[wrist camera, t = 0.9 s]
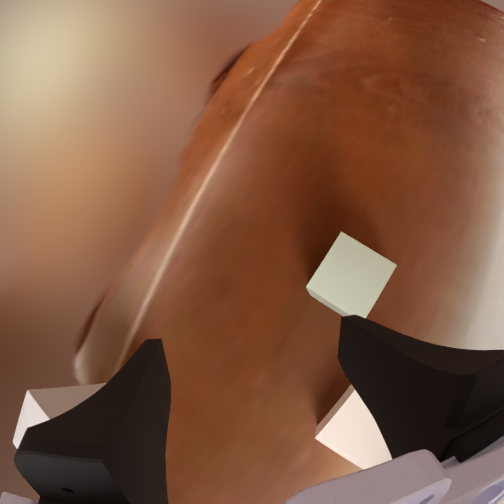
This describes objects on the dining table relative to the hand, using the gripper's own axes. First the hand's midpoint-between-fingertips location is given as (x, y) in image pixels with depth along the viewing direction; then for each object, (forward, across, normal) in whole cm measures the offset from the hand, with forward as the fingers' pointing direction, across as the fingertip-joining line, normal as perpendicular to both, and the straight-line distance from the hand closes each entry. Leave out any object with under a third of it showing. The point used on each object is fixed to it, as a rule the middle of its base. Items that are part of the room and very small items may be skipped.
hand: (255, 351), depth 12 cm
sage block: (+13, -10, +4) cm, 18 cm away
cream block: (+6, -12, +14) cm, 19 cm away
